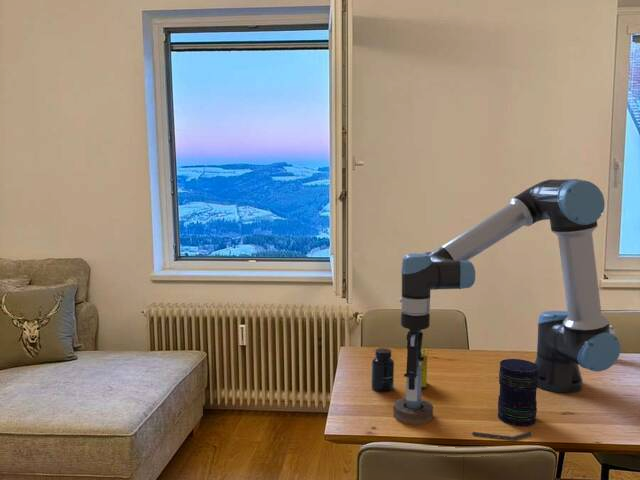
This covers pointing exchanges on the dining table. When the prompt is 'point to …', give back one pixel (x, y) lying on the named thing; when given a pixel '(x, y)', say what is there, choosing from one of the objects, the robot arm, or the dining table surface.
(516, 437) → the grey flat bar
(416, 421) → the bead
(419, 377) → the round-tipped blue peg
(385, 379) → the supplement bottle
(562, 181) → the robot arm
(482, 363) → the dining table surface
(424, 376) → the supplement box
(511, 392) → the storage jar
